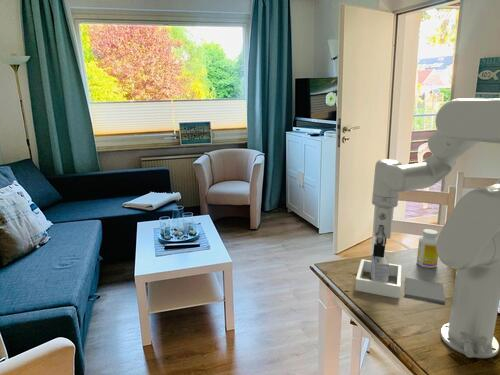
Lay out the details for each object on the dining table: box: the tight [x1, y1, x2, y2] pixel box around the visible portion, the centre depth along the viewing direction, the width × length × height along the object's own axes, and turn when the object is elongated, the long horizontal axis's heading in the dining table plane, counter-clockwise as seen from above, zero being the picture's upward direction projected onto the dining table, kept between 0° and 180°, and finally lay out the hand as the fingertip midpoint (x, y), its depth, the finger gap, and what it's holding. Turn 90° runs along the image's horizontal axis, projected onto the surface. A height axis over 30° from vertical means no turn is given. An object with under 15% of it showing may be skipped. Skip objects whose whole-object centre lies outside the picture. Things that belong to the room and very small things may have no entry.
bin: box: [354, 259, 402, 299], centre depth 119 cm, size 15×13×4 cm
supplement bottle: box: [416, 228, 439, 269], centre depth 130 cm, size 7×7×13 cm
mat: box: [404, 277, 446, 304], centre depth 114 cm, size 11×11×1 cm
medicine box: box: [370, 253, 390, 283], centre depth 119 cm, size 8×4×9 cm, turn 168°
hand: (379, 249), depth 117 cm, fingers open, 9 cm apart
